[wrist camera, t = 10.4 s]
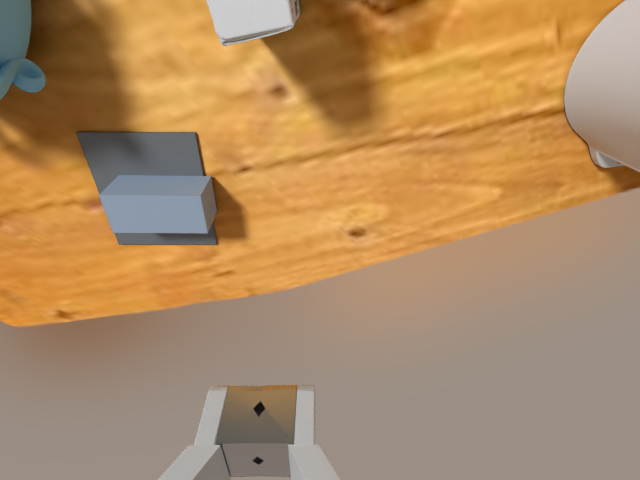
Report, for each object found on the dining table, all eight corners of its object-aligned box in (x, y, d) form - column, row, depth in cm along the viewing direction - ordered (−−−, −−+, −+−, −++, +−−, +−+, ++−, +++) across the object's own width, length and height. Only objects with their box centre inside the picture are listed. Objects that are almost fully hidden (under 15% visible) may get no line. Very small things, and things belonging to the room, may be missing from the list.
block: (200, 195, 37) (98, 195, 37) (207, 233, 39) (112, 232, 39) (211, 176, 40) (118, 175, 40) (217, 211, 43) (130, 210, 43)
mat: (195, 132, 38) (194, 133, 38) (217, 243, 46) (216, 244, 46) (77, 131, 38) (76, 132, 38) (120, 243, 46) (119, 244, 46)
